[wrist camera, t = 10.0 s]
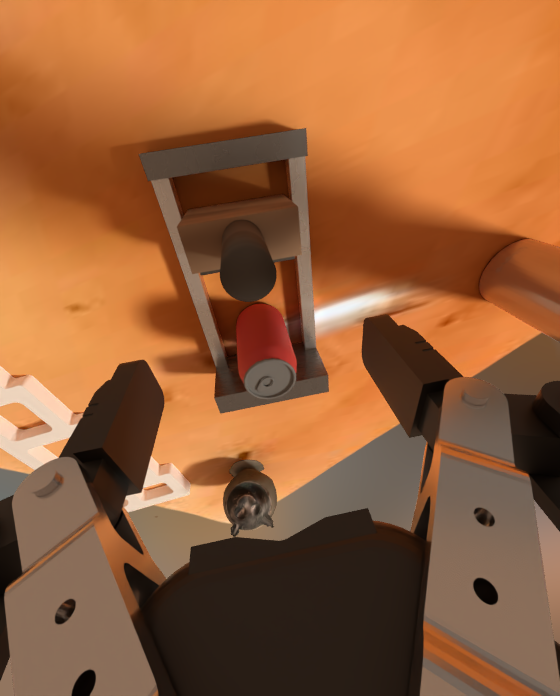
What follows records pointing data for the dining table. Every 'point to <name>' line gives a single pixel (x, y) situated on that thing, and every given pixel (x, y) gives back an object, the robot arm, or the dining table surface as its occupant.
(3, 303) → the dining table surface
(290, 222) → the sliding jaw
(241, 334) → the beer can
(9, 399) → the holder
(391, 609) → the robot arm
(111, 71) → the dining table surface
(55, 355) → the dining table surface
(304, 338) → the frame
